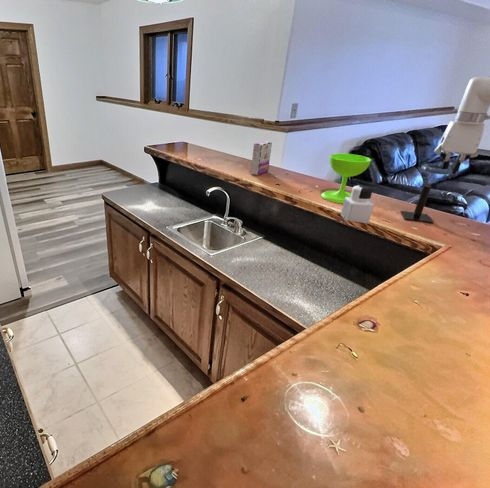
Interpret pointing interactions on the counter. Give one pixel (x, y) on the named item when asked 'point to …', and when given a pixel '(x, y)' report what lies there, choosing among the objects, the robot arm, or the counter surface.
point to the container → (358, 205)
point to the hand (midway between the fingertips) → (447, 172)
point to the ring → (436, 169)
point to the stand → (419, 208)
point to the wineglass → (345, 173)
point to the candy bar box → (261, 157)
